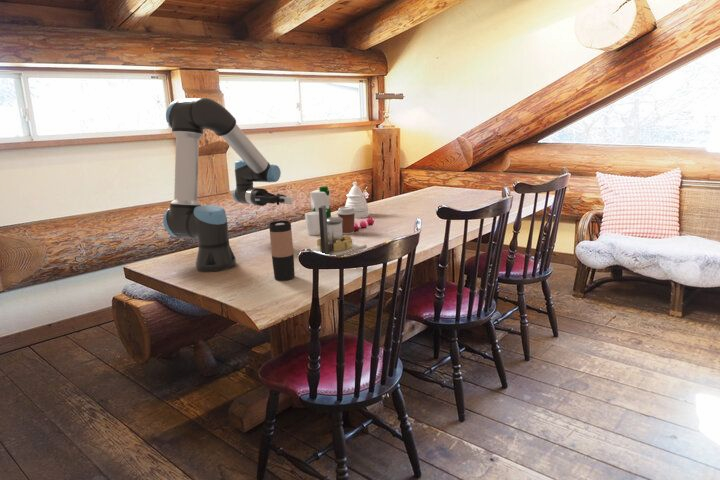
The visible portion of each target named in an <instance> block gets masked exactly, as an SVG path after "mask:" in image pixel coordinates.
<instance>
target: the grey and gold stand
mask: <svg viewBox="0 0 720 480" xmlns="http://www.w3.org/2000/svg"><path fill="white" fill-rule="evenodd" d="M319 223H320V234H319V235H320V236H319V237H320V238H318V239H317V240H316V244H317V245H316V246H317V248H318V249H319V250H321V252H322V253H325V254H330V255H331V253H332V252H333V251H341V250H345V249H349V248H351V247H352V246H353V245H352V242H353V238H351V234H345V235H343V241H342V242H341V240H335V243H333V241H332V240H329V241H328V232H327V217H326V206H321V207H319Z"/></svg>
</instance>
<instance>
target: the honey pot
mask: <svg viewBox="0 0 720 480" xmlns="http://www.w3.org/2000/svg"><path fill="white" fill-rule="evenodd" d="M352 185H353V186H352V187H351V189H350V190H349V192H348V193H346V195H345V196H346V197H347V199H346V201H345V205H344V207H353V208H354V210H355V211H356V213H355V216H354V219H362V218H368V216H369V205H368V202H367V199H366V196H365V193H364V192H363V191H362V190H361V188H360V187H359V186H358V182H357V181H354V182H352Z"/></svg>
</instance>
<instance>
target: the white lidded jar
mask: <svg viewBox="0 0 720 480" xmlns="http://www.w3.org/2000/svg"><path fill="white" fill-rule="evenodd" d="M342 221H343V220H342V218H340V217H338V216H331V217H330V218H327V232H328V241H329V240H332V241H333V243H335V240H341V242H342V241H343V236H344V234H343V233H342Z"/></svg>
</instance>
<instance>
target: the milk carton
mask: <svg viewBox="0 0 720 480" xmlns="http://www.w3.org/2000/svg"><path fill="white" fill-rule="evenodd" d="M328 188H329V187H328V186H319V189H316V190H313V191H310V192H309V195H310V204H311V205H310V206H311V212H319V207H321V206H326V217H327V218H330V217H332V212H331V190H330V189H328Z"/></svg>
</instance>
